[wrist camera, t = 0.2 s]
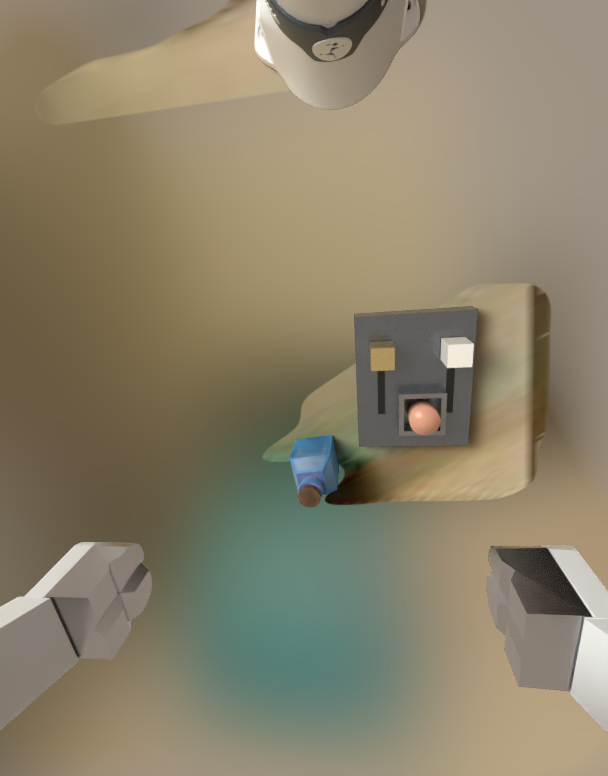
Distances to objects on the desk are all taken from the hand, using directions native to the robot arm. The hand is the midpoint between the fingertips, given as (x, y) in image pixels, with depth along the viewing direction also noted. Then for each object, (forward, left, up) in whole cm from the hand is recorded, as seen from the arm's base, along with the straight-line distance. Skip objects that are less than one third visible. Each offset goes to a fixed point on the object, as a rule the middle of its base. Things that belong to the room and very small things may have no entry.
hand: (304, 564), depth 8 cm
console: (+11, +9, -47) cm, 49 cm away
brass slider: (+6, +4, -44) cm, 44 cm away
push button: (+15, +10, -42) cm, 46 cm away
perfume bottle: (+24, -6, -47) cm, 53 cm away
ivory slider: (+6, +14, -44) cm, 46 cm away
